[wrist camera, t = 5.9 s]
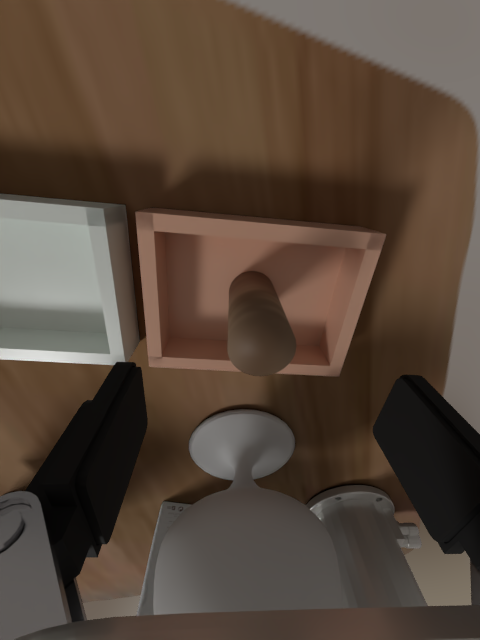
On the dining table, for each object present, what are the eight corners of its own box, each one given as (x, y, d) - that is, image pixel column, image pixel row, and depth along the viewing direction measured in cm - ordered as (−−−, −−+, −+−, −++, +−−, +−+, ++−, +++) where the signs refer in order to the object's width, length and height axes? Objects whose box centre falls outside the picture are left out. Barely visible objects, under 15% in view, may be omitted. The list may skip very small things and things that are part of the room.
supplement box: (213, 540, 40) (202, 753, 25) (153, 534, 39) (103, 755, 24) (229, 507, 36) (227, 738, 21) (162, 499, 34) (108, 740, 19)
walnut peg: (277, 272, 20) (302, 320, 13) (270, 314, 21) (289, 377, 14) (230, 269, 20) (229, 315, 12) (227, 311, 21) (225, 374, 14)
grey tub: (125, 205, 18) (102, 208, 15) (139, 341, 23) (125, 365, 20) (-112, 183, 17) (-190, 182, 14) (-42, 330, 22) (-87, 354, 19)
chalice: (207, 383, 25) (181, 598, 12) (325, 422, 28) (409, 628, 15) (165, 465, 31) (115, 673, 18) (267, 490, 34) (290, 685, 21)
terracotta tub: (361, 226, 19) (386, 234, 16) (325, 352, 24) (338, 376, 21) (151, 207, 18) (134, 211, 15) (160, 342, 23) (149, 366, 20)
